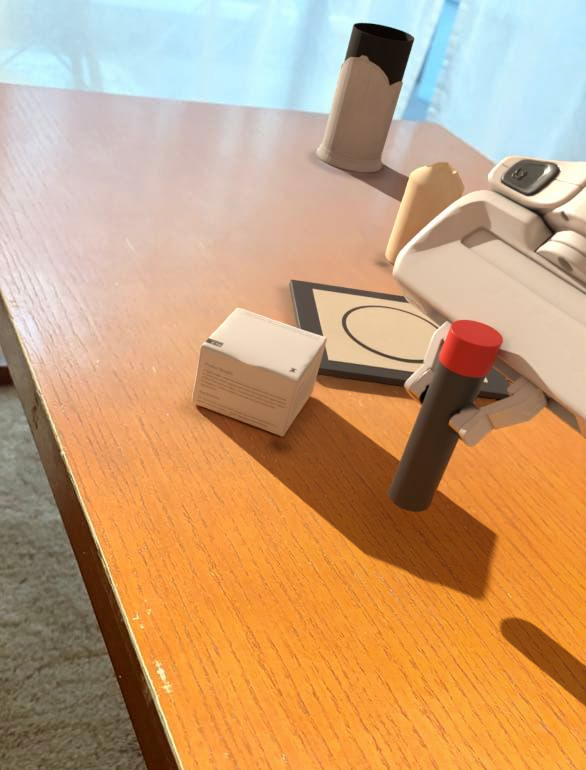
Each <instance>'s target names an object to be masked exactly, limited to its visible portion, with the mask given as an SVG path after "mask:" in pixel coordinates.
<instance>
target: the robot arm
mask: <svg viewBox="0 0 586 770" xmlns="http://www.w3.org/2000/svg"><path fill="white" fill-rule="evenodd" d="M487 181H488V185H489V189H490V190H487V189H481V190H480V189H479V190H475V191H472V192H469V193H467V194H465V195H462V197H461V198H460V199H458V200H457V201H455V202H454V203H453V204H451V205H450V206H449V207H448V208H446V209H445V210H444V211H443V212H442V213H440V214H439V215H438V216H437V217H436V218H435V219H433V220H432V221H431V222H430V223H429V224H428V225H427V226H426V227H425V228H423V229H422V230H421V231H420V232H419V233H418V234H417V235H416V236H415V237H414V238H413V239H412V240H411V241H410V242H409V243H408V244H407V245H406V246H405V247H404V248H403V249H402V250H401V251H400V253H399V254H398V256H397V258H396V261H395V264H393V269H392V277H393V280H394V282H395V283H396V285H397V286H398V289H399V291H400V292H401V294H402V296H404V297H405V299H406V300H407V301H408V302H409V303H410V304H412V305H413V306H414V307H415V308H417V309H418V310H419V311H421V312H422V313H423V314H425V315H426V316H427V317H428V318H430V319H431V320H432V321H434V322H435V323H436V324H438V325H439V326H440V328H439V329H438V330H437V331H436V332H434V334H433V336H432V339H431V342H430V345H429V348H428V350H427V353H426V356H425V359H424V362H423V363H424V364H423V365H422V366H421V367H420V368H419V369H418V370H417V371H416V372H415V373H414V374H413V375H412V376H411V377H410V378H409V379H408V380H406V382H405V385H404V386H403V388H404V389H405V391H406V392H407V394H408V395H409V396H410V398H412V399H413V400H414V401H415V402H416V403H417V404H419V405H421V406H422V403H423V401H424V398H425V396H426V393H427V390H428V388H429V385H430V383H431V380H432V378H433V375H434V372H435V370H436V367H437V365H438V362H439V360H440V359H439V355H440V352H441V349H442V347H443V344H444V342H445V339H446V337H447V334H448V331H449V329H450V326H451V324H452V323H453V322H455V321H458V320H472V321H477V322H481V323H483V324H486V325H488V326H490V327H492V328H494V329H495V330H497V331H498V332H499V333H500V334H501V336H502V338H503V343H502V345H501V348H500V350H499V352H498V354H497V357H496V359H495V361H494V364H493V366H492V367H493V368H495V369H496V370H497V371H498V372H500V373H501V374H502V375H504V376H505V377H506V379H507V380H509V381H510V382H511V384H509V385H510V386H509V387H508V388H507V391H508V393H509V396H510V397H507V398H505V399H502V400H500V399H498V400H496V401H494V402H491V403H489V404H486V405H483V406H480V407H477V405H475V403H474V404H472V403H471V402H469V403H468V404H466V405H465V406H464V407H462V408H461V410H460V413H458V414H455V415H454V416H452V417H451V419H450V420H449V423H448V425H449V427H450V429H451V430H452V432H453V433H454V434H455V435H456V436H457V437H458V438H459V440H460V441H461V442H462V443H463V444H464V445H465V446H467V447H468V448H473V447H475V446H477V444H479V442H481V441H482V440H483V439H484V438H485V437H487V436H488V434H490V433H491V432H492V431H493V430H496V431H497V430H500V429H503V428H507V427H510V426H511V427H512V426H514V425H518V424H521V423H525V422H529V421H532V419H533V418H534V417H536V416H537V415H538V414H539V413H540V412H541V411H542V410H543V409H546V410H548V411H549V412H551V414H553V415H554V416H555V417H557V418H558V419H559V420H560V421H562V422H563V423H565V424H566V425H567V426H568V427H569V428H571V429H572V430H573V431H575V432H576V433H578V434H579V435H580V436H581V437H583V438H584V439H586V161H570V160H569V161H568V160H556V159H545V158H540V157H533V156H532V157H531V156H525V155H515V154H514V155H508V156H506V157H504V158H502V159H501V160H500V161H499V162H498V163H497V164H496V165H495V166H494V167H493V168H492V169H491V170H490V171H489V173H488V175H487ZM421 406H420V407H421Z"/></svg>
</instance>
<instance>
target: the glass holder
mask: <svg viewBox="0 0 586 770" xmlns="http://www.w3.org/2000/svg"><path fill="white" fill-rule="evenodd" d="M414 42H415V37H414V36H413V35H412V34H411V33H408V32H406V31H404V30H401V29H398V28H395V27H392V26H389V25H383V24H379V23H372V22H356V23H354V24H353V25H352V29H351V32H350V37H349V41H348V44H347V49H346V53H345V57H344V61H343V63H342V64H341V66H340V71H339V73H338V74H339V75H338V79H337V82H336V86H335V90H334V95H333V98H332V102H331V107H330V111H329V114H328V118H327V123H326V126H325V131H324V135H323V138H322V141H321V143H320V145H319V147H318V148H317V149H316V152H315V154H316V156H317V157H318V158H319V159H320V160H321V161H323V162H325V163H327V164H328V165H330V166H333V167H335V168H338V169H342V170H346V171H349V172H355V173H376V172H378V171H380V170H381V169H382V167H383V163H382V155H383V152H384V148H385V145H386V141H387V138H388V135H389V132H390V128H391V125H392V122H393V118H394V115H395V111H396V109H397V105H398V101H399V98H400V95H401V91H402V87H403V85H404V82H403V79H404V77H405V73H406V70H407V66H408V62H409V60H410V55H411V53H412V49H413V45H414Z"/></svg>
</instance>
